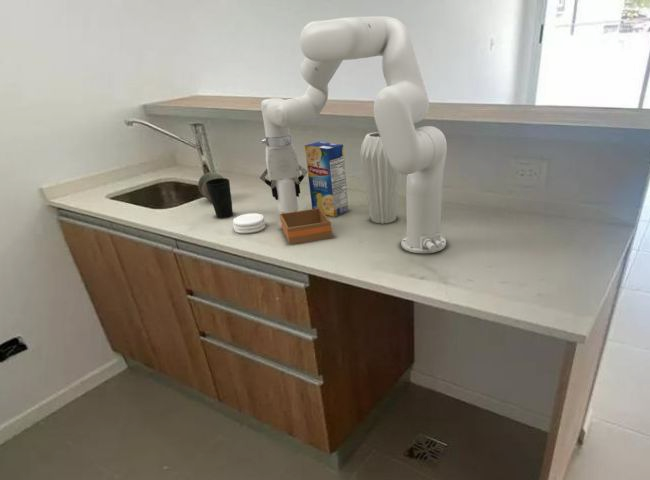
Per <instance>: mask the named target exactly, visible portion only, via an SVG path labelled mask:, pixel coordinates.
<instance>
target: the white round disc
mask: <svg viewBox="0 0 650 480" xmlns="http://www.w3.org/2000/svg"><path fill="white" fill-rule="evenodd" d="M232 224H233V230H234V232H236V233H238V234H245V235H246V234H247V235H248V234H255V233H259V232H261V231H263V230H265V228H266V226H267V225H266V220H265V216H264V215H263V214H260V213H254V212H253V213H243V214H240V215H237V216H235V217H234V218H233V219H232Z"/></svg>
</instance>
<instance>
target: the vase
mask: <svg viewBox="0 0 650 480" xmlns="http://www.w3.org/2000/svg"><path fill="white" fill-rule="evenodd" d="M364 136H365V137H364V138H363V141H362V143H361V146H360V153H359V159H360V164H361V170H362V177H363V181H364V186H365V193H366V198H367V203H368V209H369V214H370V220H371V221H372V222H373V223H375V224H376V223H377V224H382V225H383V224H390V223H393V222H395V221H396V220H397V217H398V216H397V215H398V206H399V198H400V189H401V181H402V180H401V179H402V174H401V173H399V172H397V171H396V170H395V169H394V168H393V167H392V165H391V164H390V162H389V160H388V157H387V154H386V151H385V149H384V146H383V143H382V140H381V137H380V134H379V131H377V132H375V131H374V132H370V133H367V134H366V135H364Z"/></svg>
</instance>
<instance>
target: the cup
mask: <svg viewBox="0 0 650 480" xmlns="http://www.w3.org/2000/svg"><path fill="white" fill-rule="evenodd" d="M230 184H231V183H230V179H229V178H225V177H223V178H218V179H212V180H209V181H207V182H206V185H207V188H208V192H209V195H210V198H211V200H210V201H211V203H212V206H213V210H214V213H215V216H216V218H217V219H228V218H231V217H233V216H234V209H233V201H232V193H231V186H230Z"/></svg>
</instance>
